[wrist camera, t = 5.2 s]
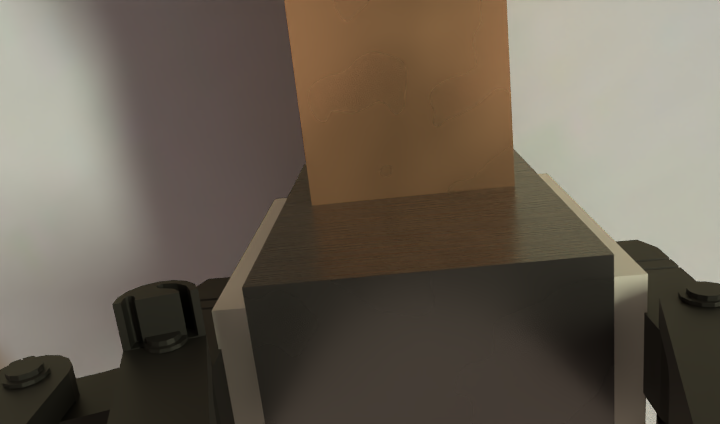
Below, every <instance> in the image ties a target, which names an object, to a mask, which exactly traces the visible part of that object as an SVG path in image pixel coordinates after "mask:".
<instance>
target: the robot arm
mask: <svg viewBox="0 0 720 424" xmlns="http://www.w3.org/2000/svg"><path fill="white" fill-rule="evenodd" d="M538 175H539V176H540V177H541V178H542V179H543V180H544V181H545V182H546V183H547V185H548V186H549V187H550V188H551V189H552V190H553V191H554V192H555V193H556V194H557V195H558V196H559V197H560V198H561V199H562V200H563V201H564V202H565V203H566V204H567V205H568V207H569V208H570V209H571V210H572V211H573V212H574V213H575V214H576V215H577V216H578V217H579V218H580V219H581V220H582V221H583V222H584V223H585V224H586V225H587V226H588V227H589V229H590V230H591V231H592V232H593V233H594V234H595V235H596V236H597V237H598V238H599V239H600V240H601V241H602V242H603V243H604V244H605V245H606V246H607V247H608V248H609V249H610V251H611V252H612V253H613V254H614V424H645V412H646V398H647V399H648V401H649V402H650V404H651V405H652V407H653V408H654V410H655V411H656V413H657V420H656V424H720V284H718V283H712V282H697V281H695V280H694V279H693V278H692V277H691V276H690V275H689V274H687V273H686V272H685V271H684V270H683V269H682V268H679V267H678V265H677V264H676V263H675V262H674V261H672V260H671V259H670V260H669V257H668V256H667V255H665V254H664V253H663V252H662V251H661V250H660V249H659V248H657V247H655V246H652V245H649V244H647V243H644V242H641V241H639V240H629V241H618V242H615V241H614V240H613V239H612V238H611V237H610V236H609V235H608V234H607V233H606V232H605V231H604V230H603V229H602V228H601V227H600V226H599V225H598V224H597V223H596V222H595V221H594V220H593V219H592V218H591V217H590V216H589V215H588V214H587V213H586V212H585V211H584V210H583V209H582V208H581V207H580V206H579V205H578V204H577V203H576V202H575V201H574V200H573V199H572V198H571V197H570V196H569V195H568V194H567V193H566V192H565V191H564V190H563V189H562V188H561V187H560V186H559V185H558V184H557V183H556V182H555V181H554V180H553V179H552V178H551V177H550V176H549V175H548V174H547V173H546V174H538ZM286 200H287V198H280V199H275V200H274V202H273V204H272V205H271V207H270V209H269V211H268V212H267V214H266V216H265V218H264V219H263V221H262V223H261V225H260V227H259V228H258V230H257V232H256V234H255V235H254V237H253V239H252V241H251V242H250V244H249V246H248V248H247V249H246V251H245V253H244V255H243V256H242V258H241V260H240V262H239V263H238V265H237V267H236V269H235V271H234V272H233V274H232V276H231V277H227V278H215V279H208V280H206V281H205V282H203V283H202V284H200V285H199V286H197V287H196V285H195V284H193V283H190V282H188V281H177V280H171V281H162V282H156V283H152V284H148V285H143V286H140V287H138V288H135V289H133V290H130V291H128V292H126V293H125V294H123V295H121V296H120V297H118V298H117V299H116V301H115V302H114V303H113V309H114V313H115V317H116V322H117V326H118V330H119V335H120V339H121V344H122V348H123V355H122V359H121V364H120V367H119V368H116V369H113V370H110V371H106V372H102V373H98V374H94V375H89V376H85V377H81V378H77V379H76V378H75V374H74V370H73V366H72V363H71V362H70V360H69V358H66V357H63V356H60V355H45V356H39V357H35V356H31V357H27V358H23V360H21V359H20V360H17V361H14V362H12V363H10V364H9V366H7V367H5V368H3V369H1V370H0V424H265V420H264V414H263V408H262V402H261V396H260V390H259V385H258V379H257V373H256V367H255V361H254V356H253V350H252V344H251V338H250V332H249V326H248V321H247V315H246V309H245V303H244V297H243V291H242V286H243V284H244V283H245V281H246V279H247V277H248V275H249V273H250V271H251V269H252V267H253V265H254V263H255V261H256V259H257V257H258V255H259V253H260V251H261V249H262V247H263V245H264V243H265V241H266V239H267V237H268V235H269V233H270V231H271V229H272V227H273V225H274V223H275V221H276V219H277V217H278V215H279V214H280V212H281V210H282V208H283V206H284V204H285V202H286Z"/></svg>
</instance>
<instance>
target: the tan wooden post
mask: <svg viewBox="0 0 720 424" xmlns="http://www.w3.org/2000/svg"><path fill="white" fill-rule="evenodd" d="M284 2H285V10H286V17H287V25H288V32H289V40H290V47H291V54H292V62H293V69H294V77H295V84H296V91H297V99H298V106H299V114H300V121H301V129H302V136H303V143H304V151H305V158H306V164H305V165H304V166H303V168H302V170H301V172H300V174H299V176H298V178H297V180H296V182H295V184H294V186H293V188H292V190H291V192H290V194H289V196H288V198H287V200H286V202H285V204H284V206H283V208H282V210H281V212H280V214H279V215H278V217H277V219H276V221H275V223H274V225H273V227H272V229H271V231H270V233H269V235H268V237H267V239H266V241H265V243H264V245H263V247H262V249H261V251H260V253H259V255H258V257H257V259H256V261H255V263H254V265H253V267H252V269H251V271H250V273H249V275H248V277H247V279H246V281H245V283H244V284H243V286H242V291H243V297H244V303H245V309H246V315H247V321H248V326H249V332H250V338H251V344H252V350H253V356H254V361H255V367H256V373H257V379H258V385H259V390H260V396H261V402H262V408H263V414H264V420H265V424H614V254H613V253H612V252H611V251H610V249H609V248H608V247H607V246H606V245H605V244H604V243H603V242H602V241H601V240H600V239H599V238H598V237H597V236H596V235H595V234H594V233H593V232H592V231H591V230H590V229H589V227H588V226H587V225H586V224H585V223H584V222H583V221H582V220H581V219H580V218H579V217H578V216H577V215H576V214H575V213H574V212H573V211H572V210H571V209H570V208H569V207H568V205H567V204H566V203H565V202H564V201H563V200H562V199H561V198H560V197H559V196H558V195H557V194H556V193H555V192H554V191H553V190H552V189H551V188H550V187H549V186H548V185H547V183H546V182H545V181H544V180H543V179H542V178H541V177H540V176H539V175H538V174H537V173H536V172H535V171H534V170H533V169H532V168H531V167H530V166H529V165H528V164H527V163H526V161H525V160H524V159H523V158H522V157H521V156H520V155H519V154H518V153H517V152H516V151H515V150H514V149H513V133H512V111H511V89H510V67H509V45H508V23H507V1H506V0H284Z"/></svg>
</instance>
